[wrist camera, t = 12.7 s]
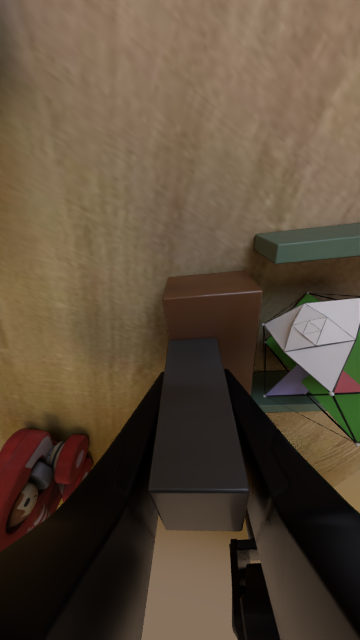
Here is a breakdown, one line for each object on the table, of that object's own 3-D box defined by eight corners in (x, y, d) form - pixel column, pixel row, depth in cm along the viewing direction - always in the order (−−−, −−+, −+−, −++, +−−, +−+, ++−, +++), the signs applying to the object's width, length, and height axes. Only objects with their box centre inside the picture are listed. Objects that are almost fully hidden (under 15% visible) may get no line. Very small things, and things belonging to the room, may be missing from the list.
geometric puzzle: (441, 333, 10) (628, 425, 4) (339, 405, 14) (356, 517, 7) (313, 267, 13) (306, 261, 7) (253, 340, 16) (211, 382, 10)
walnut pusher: (238, 368, 15) (296, 552, 7) (180, 370, 15) (173, 549, 7) (245, 269, 11) (392, 435, 3) (167, 276, 11) (122, 440, 3)
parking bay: (372, 373, 15) (416, 414, 12) (243, 379, 16) (255, 419, 13) (463, 211, 9) (586, 214, 6) (255, 233, 10) (281, 246, 7)
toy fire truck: (85, 417, 19) (-1, 598, 11) (95, 471, 26) (46, 612, 17) (15, 409, 19) (-136, 587, 10) (42, 465, 26) (-36, 606, 17)
